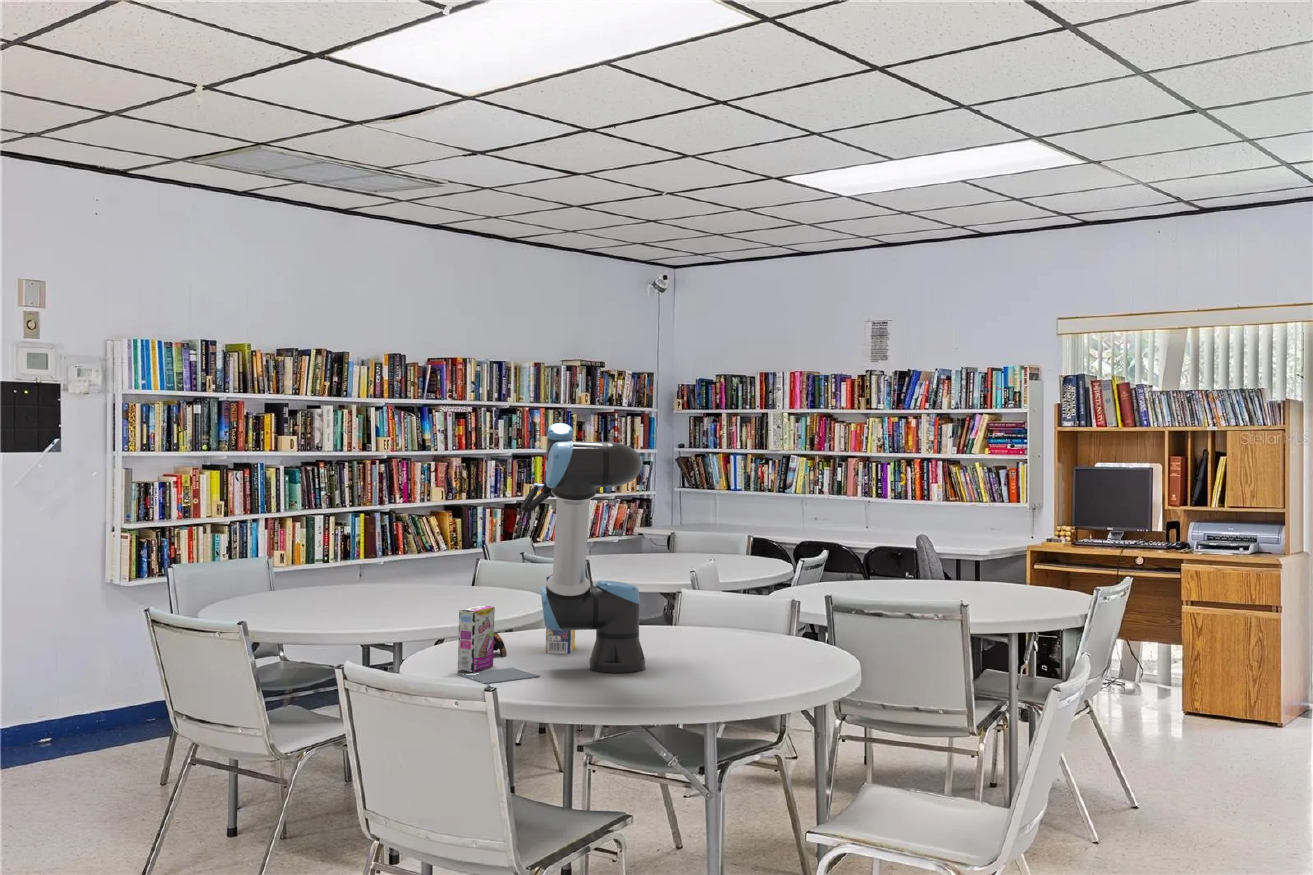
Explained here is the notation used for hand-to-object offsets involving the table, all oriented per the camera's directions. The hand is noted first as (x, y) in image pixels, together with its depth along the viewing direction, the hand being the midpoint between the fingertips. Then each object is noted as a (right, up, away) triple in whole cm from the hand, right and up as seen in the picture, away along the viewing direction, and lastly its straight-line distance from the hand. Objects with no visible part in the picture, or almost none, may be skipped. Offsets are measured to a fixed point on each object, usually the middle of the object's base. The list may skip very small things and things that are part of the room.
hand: (553, 526), depth 352 cm
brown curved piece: (-16, -35, -26) cm, 47 cm away
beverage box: (+4, -35, -17) cm, 40 cm away
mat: (-9, -34, -58) cm, 68 cm away
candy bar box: (-16, -35, -48) cm, 61 cm away
